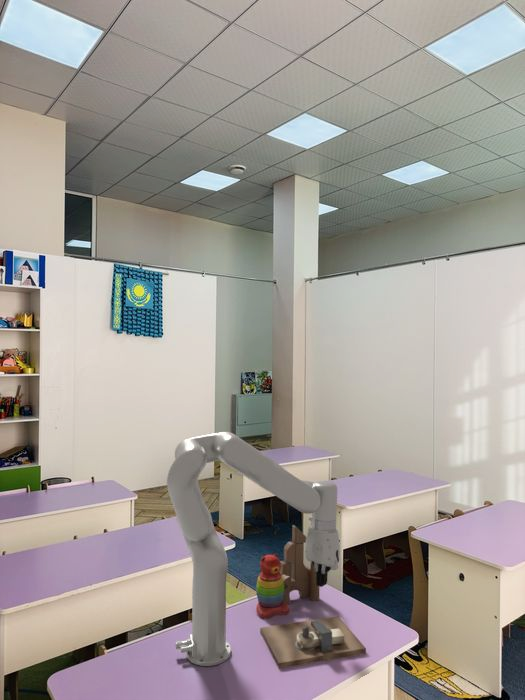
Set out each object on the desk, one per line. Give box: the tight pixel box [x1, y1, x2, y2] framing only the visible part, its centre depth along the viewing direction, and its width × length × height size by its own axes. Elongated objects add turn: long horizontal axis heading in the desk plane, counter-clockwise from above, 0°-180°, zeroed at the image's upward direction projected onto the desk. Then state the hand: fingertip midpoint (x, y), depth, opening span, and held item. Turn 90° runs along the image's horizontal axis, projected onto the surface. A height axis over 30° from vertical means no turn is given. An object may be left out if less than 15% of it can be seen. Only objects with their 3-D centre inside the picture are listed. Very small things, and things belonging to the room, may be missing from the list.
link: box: [297, 626, 344, 648], centre depth 143 cm, size 14×5×4 cm, turn 103°
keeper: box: [311, 619, 332, 653], centre depth 143 cm, size 3×8×6 cm, turn 16°
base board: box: [259, 615, 367, 670], centre depth 146 cm, size 26×18×2 cm
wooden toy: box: [279, 524, 320, 606], centre depth 173 cm, size 15×7×25 cm, turn 112°
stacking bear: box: [255, 553, 291, 619], centre depth 166 cm, size 11×10×18 cm
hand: (321, 584), depth 150 cm, fingers closed
